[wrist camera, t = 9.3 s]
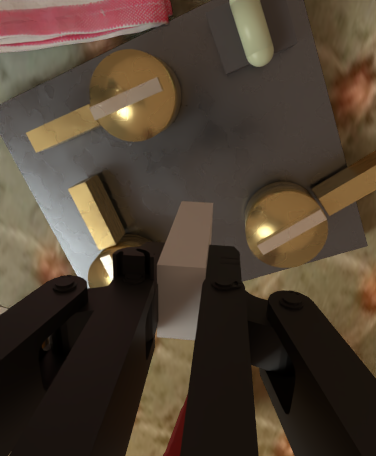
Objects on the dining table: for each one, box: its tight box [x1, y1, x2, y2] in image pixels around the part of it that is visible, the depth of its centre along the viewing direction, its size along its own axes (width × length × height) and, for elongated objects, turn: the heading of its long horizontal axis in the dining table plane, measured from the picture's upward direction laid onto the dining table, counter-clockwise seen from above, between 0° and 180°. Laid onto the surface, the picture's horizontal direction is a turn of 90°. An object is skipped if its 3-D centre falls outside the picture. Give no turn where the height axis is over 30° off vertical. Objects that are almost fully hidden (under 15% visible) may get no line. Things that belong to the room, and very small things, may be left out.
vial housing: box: [205, 0, 298, 75], centre depth 24 cm, size 5×5×4 cm
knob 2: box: [68, 174, 151, 288], centre depth 31 cm, size 12×6×4 cm, turn 22°
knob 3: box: [245, 150, 376, 268], centre depth 27 cm, size 12×6×4 cm, turn 126°
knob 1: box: [26, 49, 181, 153], centre depth 27 cm, size 12×6×4 cm, turn 112°
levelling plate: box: [0, 0, 368, 288], centre depth 31 cm, size 22×26×2 cm
